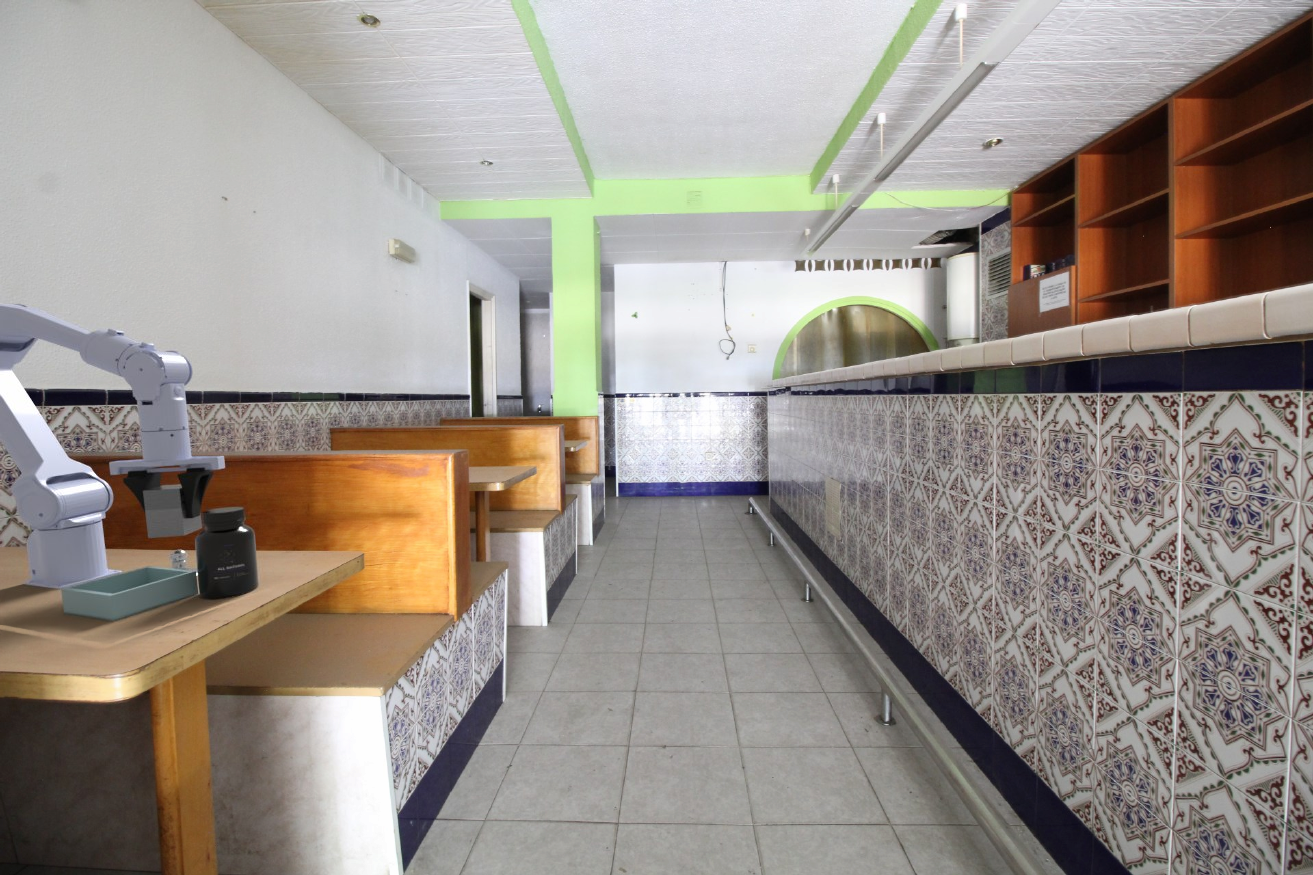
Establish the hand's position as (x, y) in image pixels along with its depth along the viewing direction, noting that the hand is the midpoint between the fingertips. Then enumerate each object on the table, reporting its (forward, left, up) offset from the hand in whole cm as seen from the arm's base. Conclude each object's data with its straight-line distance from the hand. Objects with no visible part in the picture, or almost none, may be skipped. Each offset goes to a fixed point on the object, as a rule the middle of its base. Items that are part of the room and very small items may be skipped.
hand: (174, 518), depth 92 cm
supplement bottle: (+16, -3, -10) cm, 19 cm away
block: (0, 0, -2) cm, 2 cm away
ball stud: (0, 0, -9) cm, 9 cm away
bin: (+8, -10, -9) cm, 16 cm away
